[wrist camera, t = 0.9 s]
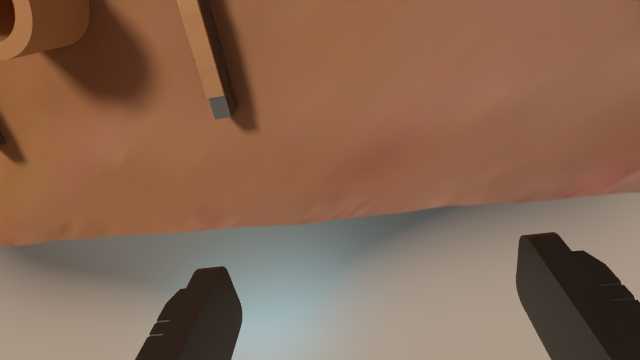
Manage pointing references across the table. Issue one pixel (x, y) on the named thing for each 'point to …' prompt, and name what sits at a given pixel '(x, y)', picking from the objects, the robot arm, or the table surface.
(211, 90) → the guide rails
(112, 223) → the table surface
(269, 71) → the table surface
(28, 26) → the bracket
